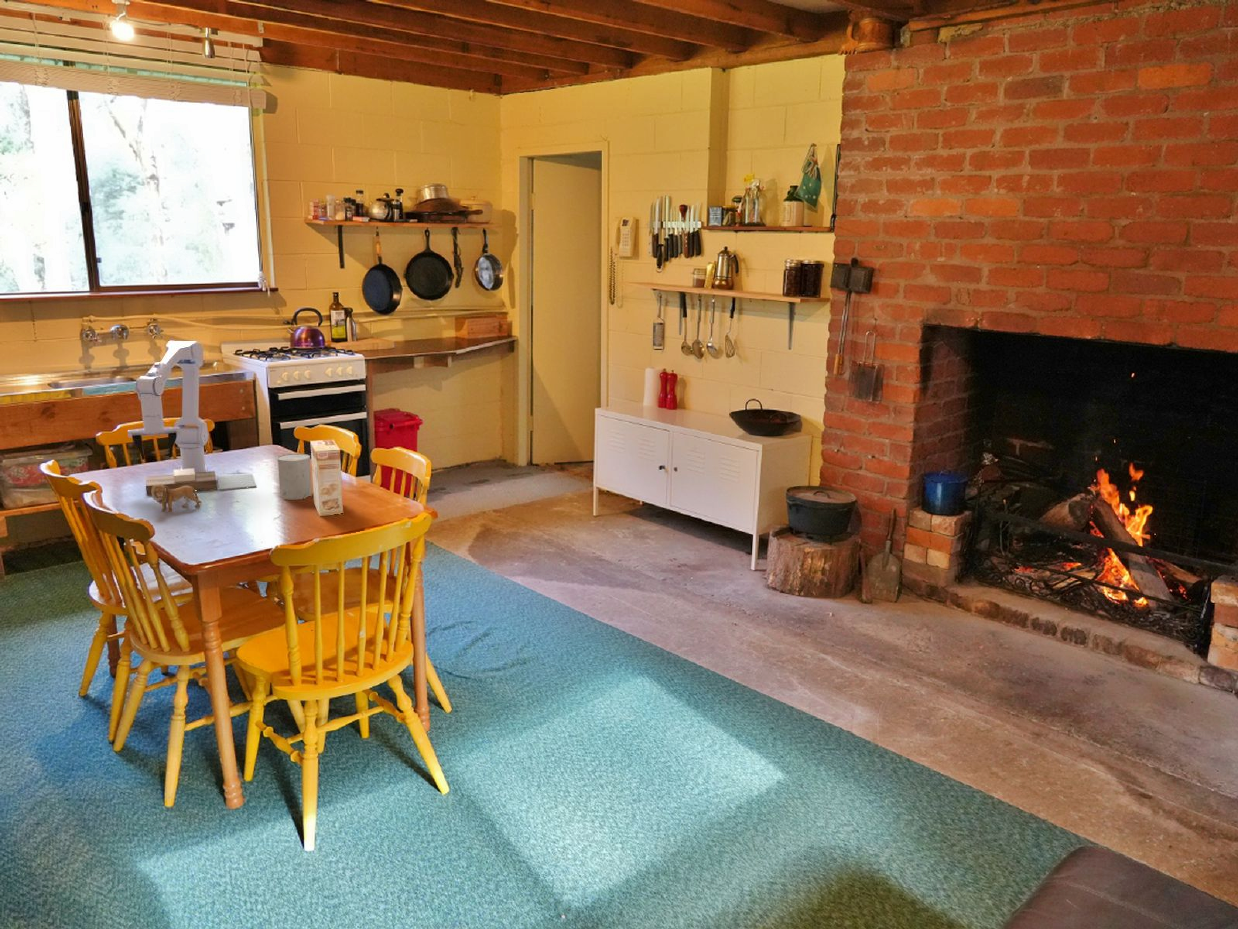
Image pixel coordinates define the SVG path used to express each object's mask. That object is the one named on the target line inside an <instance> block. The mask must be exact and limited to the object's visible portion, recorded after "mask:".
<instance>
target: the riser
mask: <svg viewBox="0 0 1238 929" xmlns="http://www.w3.org/2000/svg"><path fill="white" fill-rule="evenodd" d="M145 479H146V480H145V488H146V489H145V490H146V496H152V494H151V489H152V487H153V486H154V485H156V484H162V485H165V486H168V487H170V488H173V489H176V488H180V487H182V486H191V487H193V488H194V489H195V490H202V491H211V490H212V489H213V490H218V482H217V476H216V471H215V470H212V471H207V472H198V473H195V480H192V481H181V482H174V473H173V474H165V475H164V474H163V475H151V476H146V478H145Z"/></svg>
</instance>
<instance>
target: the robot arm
mask: <svg viewBox="0 0 1238 929" xmlns="http://www.w3.org/2000/svg"><path fill="white" fill-rule="evenodd" d="M174 366H178V367H180V368H181V371H182V387H181V389H182V392H181V394H182V395H181V396H182V397H181V398H182V399H181V401H182V402H181V406H182V407H181V417H180V418H179V419H177V420H176V421H175V422H174V426H165V425H164V424H165V423H164V413H163V412H164V411H163V403H162V394H164V391H165V386H166V382H167V381H168V379H169V378H170V377H171V376H172V369H173V367H174ZM203 366H204V348H203V346H202V344H201V342H199V341H197V340H192V341H186V340H184V341H183V340H169V341H168V342H167V344H166V345H165V354H164V356H163V357H162V359H161V361H160V362H159V361H158V362H154V363H153V365H152V366H151V368H150V369H149V370H148V371H147V372H146V374H145V375H143V376H142V375H141V376H140V377H138V378H137V379H136V380H135V386H134V389H135V392H136V394H137V397H138V401H140V406H141V407H140V408H141V415H142V424H143V428H135V429H128V430H127V437H128V438H132V441H133V443H134V445H135V446H136V448H137V449H138V451H139V454H140V456H141V460H145V458H146V457H145V452H144V447H143V437H146V436H147V437H148V436H160V435H161V436H164V435H167V440H168V456H169V458H173V457H172V456H173V450H174V445H175V444H176V445H177V447H178V448H179V449H180V450H179V451H180V460H181V467H180V469H191V468H194V471H195V473H198V472H208V467H207V465H206V460H205V448H204V446H205V445H206V444H207V443H208V440H209V430H208V423H207V422H206V421H205V420H203V419H202V418H201V417H200V416H199V412H200V410H199V407H200V406H199V404H200V401H199V400H200V399H199V398H200V368H201V367H203Z"/></svg>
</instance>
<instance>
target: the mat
mask: <svg viewBox="0 0 1238 929" xmlns="http://www.w3.org/2000/svg"><path fill="white" fill-rule="evenodd" d="M216 481H217V488H218V490H220V491H228V490H229V491H231V489H232V490H238V489H239V488H243V489H248V488H247V487H254V488H257V484H256V481H255V477H254V476H253V473H248V474H247V473H246V474H234V475H225V476H222V475H221V476H216ZM239 490H240V489H239Z"/></svg>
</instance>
